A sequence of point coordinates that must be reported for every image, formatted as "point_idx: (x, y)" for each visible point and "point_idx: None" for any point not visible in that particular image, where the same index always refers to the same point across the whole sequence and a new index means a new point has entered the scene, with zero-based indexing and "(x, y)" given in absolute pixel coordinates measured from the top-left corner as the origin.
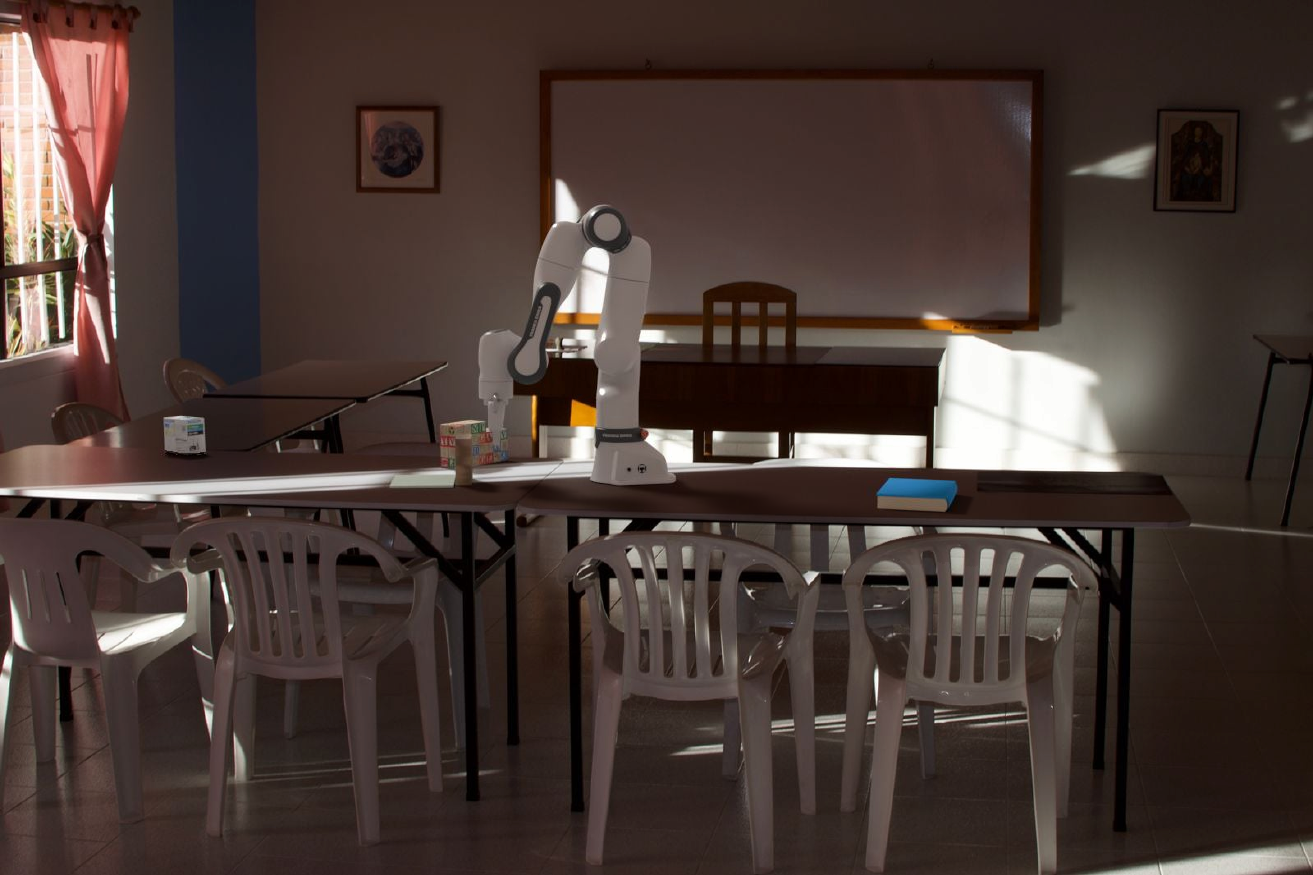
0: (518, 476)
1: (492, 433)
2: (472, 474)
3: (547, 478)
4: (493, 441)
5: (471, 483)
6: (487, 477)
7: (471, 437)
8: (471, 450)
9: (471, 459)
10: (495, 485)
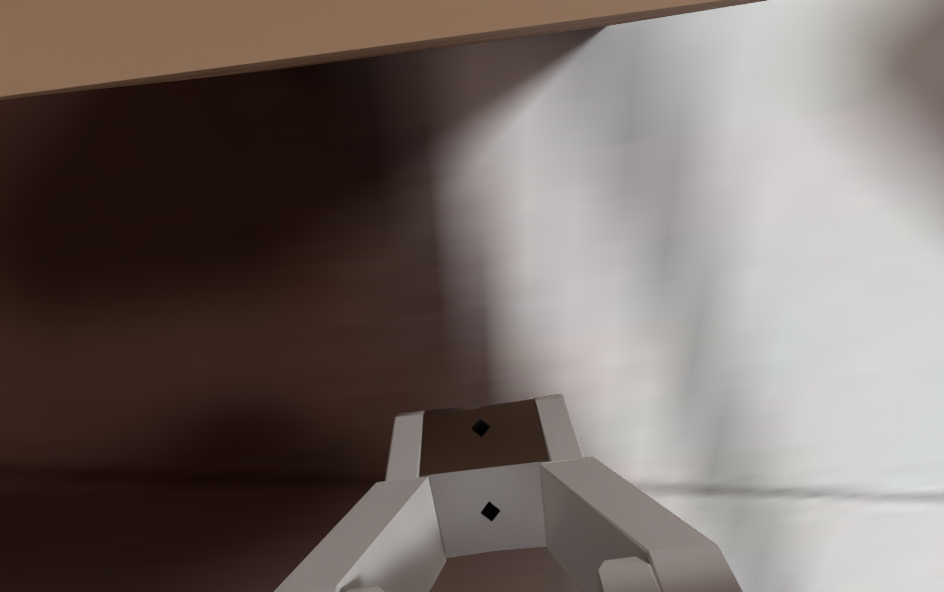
0: (693, 352)
1: (293, 577)
2: (584, 28)
3: None
4: (391, 451)
5: (286, 68)
6: (676, 146)
7: (422, 41)
8: (345, 56)
9: (320, 61)
10: (296, 262)
